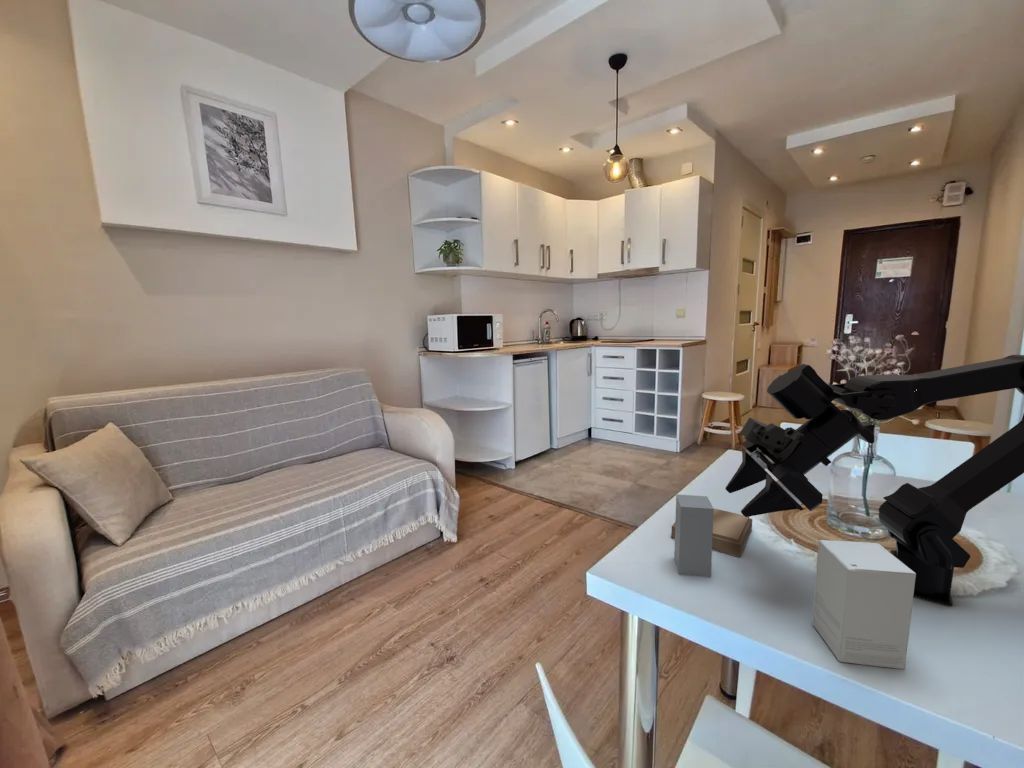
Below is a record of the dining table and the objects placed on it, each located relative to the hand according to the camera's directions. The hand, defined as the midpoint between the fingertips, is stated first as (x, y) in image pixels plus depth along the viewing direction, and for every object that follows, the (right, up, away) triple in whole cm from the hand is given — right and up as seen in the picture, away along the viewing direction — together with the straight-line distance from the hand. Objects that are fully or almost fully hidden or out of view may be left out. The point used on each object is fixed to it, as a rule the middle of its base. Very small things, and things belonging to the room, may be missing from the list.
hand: (734, 501), depth 71 cm
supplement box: (+8, -15, -15) cm, 22 cm away
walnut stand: (+3, -10, +14) cm, 18 cm away
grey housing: (-6, -12, +3) cm, 14 cm away
